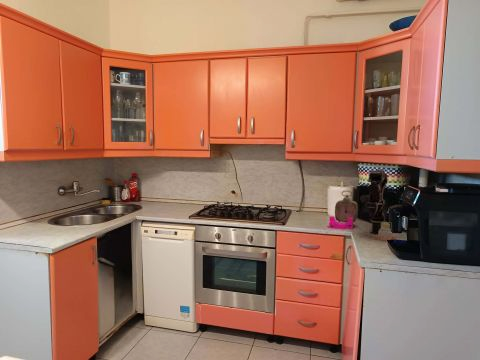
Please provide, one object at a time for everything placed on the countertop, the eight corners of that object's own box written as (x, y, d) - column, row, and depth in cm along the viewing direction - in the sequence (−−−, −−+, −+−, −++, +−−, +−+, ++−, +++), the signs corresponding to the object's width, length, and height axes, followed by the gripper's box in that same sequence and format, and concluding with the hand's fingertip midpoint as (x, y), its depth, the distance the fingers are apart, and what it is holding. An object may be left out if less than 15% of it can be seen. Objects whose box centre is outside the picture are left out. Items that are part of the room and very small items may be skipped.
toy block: (328, 228, 214) (329, 217, 213) (329, 226, 220) (330, 216, 219) (352, 230, 209) (352, 219, 208) (352, 228, 214) (352, 217, 214)
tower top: (379, 233, 191) (380, 228, 191) (392, 235, 187) (392, 230, 187) (378, 236, 185) (378, 231, 185) (391, 237, 181) (391, 232, 181)
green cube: (383, 229, 189) (383, 221, 189) (391, 230, 186) (391, 222, 186) (380, 230, 186) (381, 223, 185) (389, 231, 183) (389, 224, 182)
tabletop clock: (334, 226, 220) (335, 190, 217) (336, 223, 228) (337, 189, 225) (356, 228, 213) (357, 191, 211) (357, 225, 222) (358, 190, 219)
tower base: (380, 237, 193) (380, 232, 193) (395, 240, 187) (396, 235, 187) (374, 240, 186) (375, 235, 186) (391, 243, 180) (391, 238, 180)
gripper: (366, 188, 202) (366, 212, 203) (356, 192, 187) (356, 217, 189) (385, 190, 195) (384, 215, 196) (376, 193, 180) (375, 220, 182)
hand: (374, 216), depth 191 cm, fingers open, 9 cm apart
